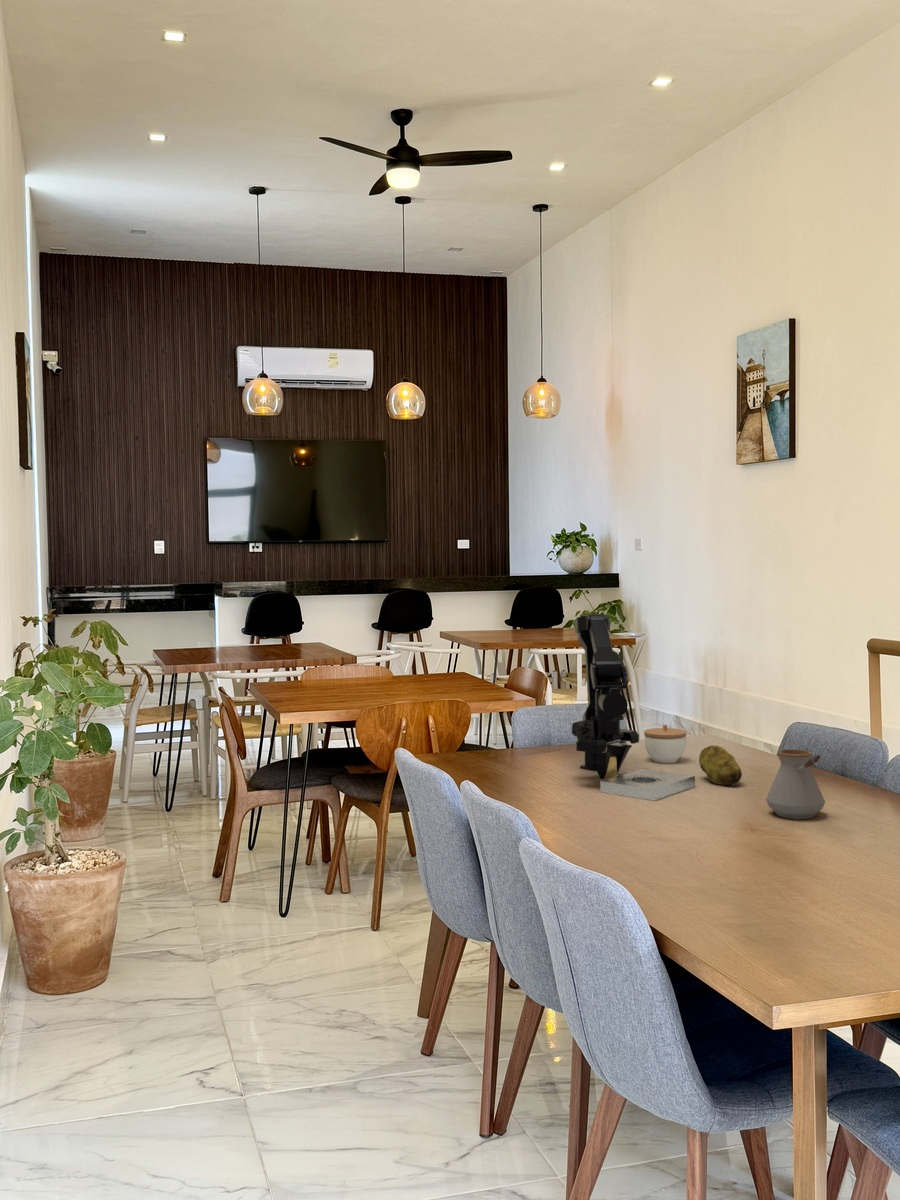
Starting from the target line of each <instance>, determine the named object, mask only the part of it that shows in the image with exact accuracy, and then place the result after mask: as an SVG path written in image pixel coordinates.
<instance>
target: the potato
mask: <svg viewBox="0 0 900 1200" xmlns="http://www.w3.org/2000/svg"><path fill="white" fill-rule="evenodd" d="M698 762H699V766H700V769H701V770H702V772H703V773H704V774H705V775H706V777H707V779H708V780H709V781H710V782H712V783H714V784H718V785H722V786H723V785H724V786H733V785H735V784H738V783H739V782H740V781H741V779H742V776H743V773H742V769H741V767H740V765H739V764H738V762H737V761H736V759H735V757H734V756H733V755H732V754H731V753H730V752H728V751H727V750H726V748H724V747H722V746H720V745H708V746H707V747H704V748H703V749H702V750H701V751H700V754H699V756H698Z"/></svg>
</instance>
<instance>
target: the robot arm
mask: <svg viewBox="0 0 900 1200" xmlns="http://www.w3.org/2000/svg"><path fill="white" fill-rule="evenodd" d="M574 632H575V634H577V641H578V643H579V644H580V645H581V647H582V648H583V650H584V658H585V659H584V661H585V662H584V663H585V676H586V691H587V693H586V694H587V704H588V705H587V707H586V708H585V711H584V713H583V715H582V720H579V721H575V722H572V723H571V725H572V726H571V734H572V735H573V736H574V737H576V739H577V741H575V750H576V752H577V751H578V752H583V753H584V764H581V765H580V768H581V769H589V770H595V771H597V774H598V778H599V780H600V779H604V778H605V775H606V771H607V767H608V763H609V759H610V755H616V756H617V775H618V774H619V771H620V769H621V767H622V765H623V763H624V761H625V759H626V757H627V754H628V753H629V751H630V749H631V748H632V747H633V746H632V745H633V744H638V743H639V742H640V734H639V732H637V730H633V729H624V728H621V721H623V720H624V718H625V717H624V714H625V713H626V712H627V710H628V700H627V699H626V697H625V696H624V695H623V694H622V693H621V690H622V689H623V690H624V689H628V685H629V683H630V682H629V676H628V671H627V667H626V666H625V663H624V662H622V659H621V656H620V654H619V653H618V652H616V651H614V649H613V646H612V641H611V638H610V633H609V632H611V617H610V616H608V615H607V614H604V613H590V614H580V615H579V616H578V617H576V618H575V619H574ZM628 742H630V744H628ZM631 744H632V745H631Z"/></svg>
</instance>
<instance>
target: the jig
mask: <svg viewBox="0 0 900 1200" xmlns="http://www.w3.org/2000/svg"><path fill="white" fill-rule="evenodd" d="M599 782H600V783H599V785H600V787H599V788H600V789H599V790H600V793H603V794H609V795H617V796H622V797H623V796H625V797H628V798H636V799H640V800H641V799H643V800H648V801H657V800H660V799H664V798H667V797H670V796H672V795H675V794H678V793H681V792H683V791H686V790H689V789H692V788H695V787H696V775H692V774H685V773H677V772H670V771H662V770H655V769H650V768H649V769H647V768H640V769H636V770H633V771H629V772H627V773H623V774H619V775H617V776H616V777H612V778H609V779H606V780H603V781H600V780H599Z"/></svg>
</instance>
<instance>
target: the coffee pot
mask: <svg viewBox="0 0 900 1200" xmlns="http://www.w3.org/2000/svg"><path fill="white" fill-rule="evenodd" d="M777 754H778V756H779V757H780V760H781V761H782V762H781V764H780V766H779V769H778V771H777V773H776V775H775V777H774V780H773V782H772V784H771V787H770V789H769V791H768V794H767V796H766V797H765V800H766V803H767V805H768V807H769V808H770V809H771V810H772V811H774V812H775V815H777V816H779V817H781V818H782V817H783V818H787V819H801V820H802V819H811V818H814V817H816V815H817V814H819V813H820V812H821V811H822V810H823V808H824V806H825V804H826V801H825V799H824V796H823V794H822V792H821V789H820V787H819V784H818V781H817V779H816V777H815V775H814V773H813V771H812V768H811V766H813V765H815V766H817V767H821V766H823V765H824V764H825V763H826V761H825V758H823V757H822V756H821V755H819V754H818V755H813V756H812V754H813V753H812V751H808V750H803V749H782V750H779V751H778V752H777ZM810 756H812V758H810ZM821 759H822V760H823V763H822V764H820V765H819V764H816V763H817V762H819V760H821Z"/></svg>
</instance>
